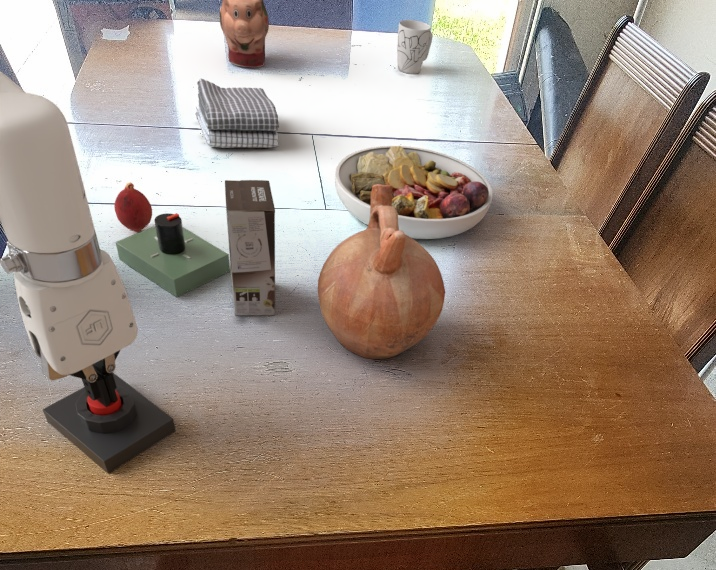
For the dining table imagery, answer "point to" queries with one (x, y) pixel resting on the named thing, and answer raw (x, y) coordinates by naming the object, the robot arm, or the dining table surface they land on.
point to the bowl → (415, 189)
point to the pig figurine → (245, 31)
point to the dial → (170, 233)
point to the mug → (413, 45)
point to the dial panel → (174, 261)
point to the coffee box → (251, 245)
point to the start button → (101, 409)
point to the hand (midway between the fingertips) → (104, 397)
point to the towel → (236, 117)
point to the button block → (111, 426)
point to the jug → (380, 286)
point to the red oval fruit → (133, 208)
